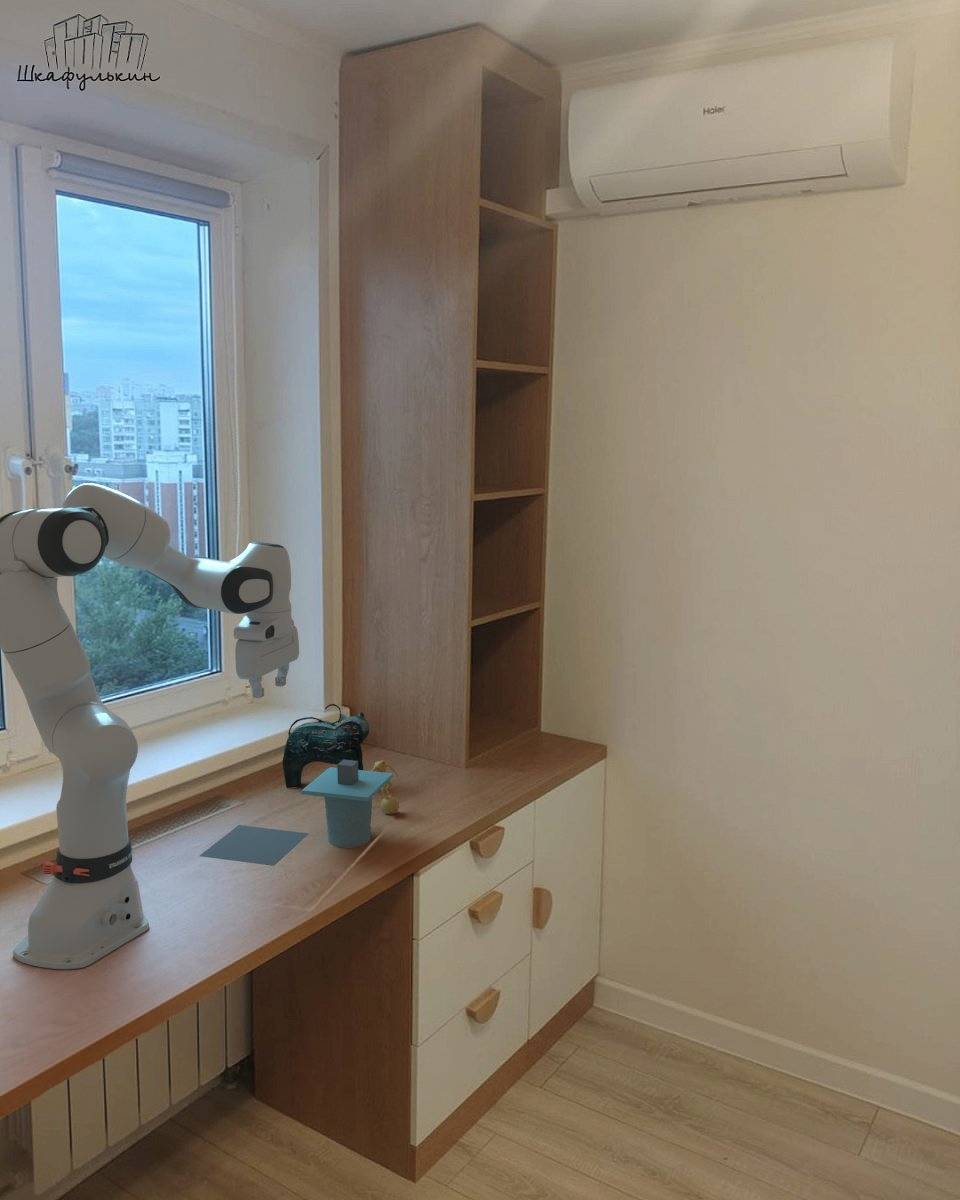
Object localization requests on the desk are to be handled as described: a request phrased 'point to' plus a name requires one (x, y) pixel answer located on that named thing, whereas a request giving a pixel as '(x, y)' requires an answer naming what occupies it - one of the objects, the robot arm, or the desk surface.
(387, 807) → the figurine
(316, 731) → the ceramic cat
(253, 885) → the desk surface
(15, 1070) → the desk surface
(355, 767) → the lid
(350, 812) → the blue grey bin
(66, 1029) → the desk surface
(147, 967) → the desk surface
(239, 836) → the mat
